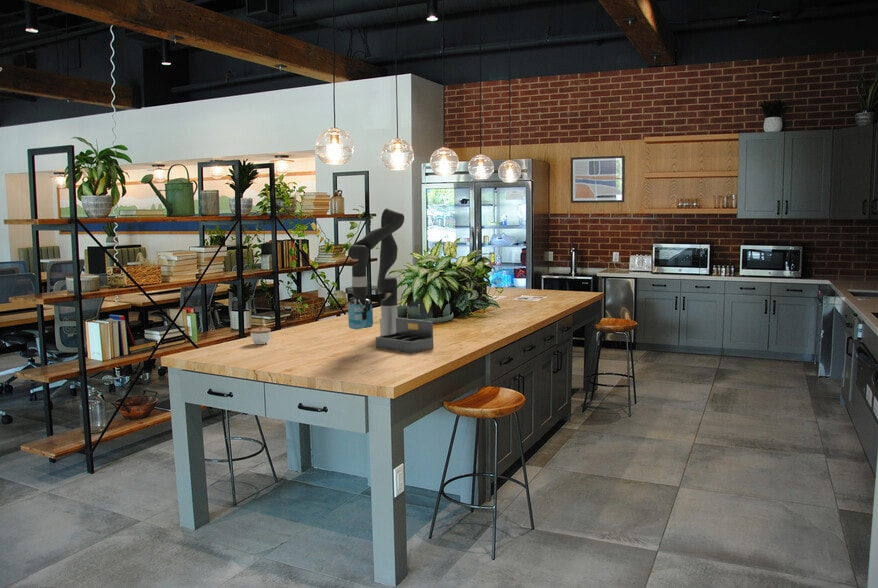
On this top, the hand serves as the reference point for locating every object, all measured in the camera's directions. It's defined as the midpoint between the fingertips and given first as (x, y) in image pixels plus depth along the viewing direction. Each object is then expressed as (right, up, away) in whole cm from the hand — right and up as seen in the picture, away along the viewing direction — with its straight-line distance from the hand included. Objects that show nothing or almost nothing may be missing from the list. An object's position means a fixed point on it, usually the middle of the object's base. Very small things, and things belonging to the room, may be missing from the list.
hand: (360, 318), depth 350 cm
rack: (+22, -15, +6) cm, 27 cm away
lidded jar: (-57, -15, +27) cm, 64 cm away
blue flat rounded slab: (0, -5, +1) cm, 5 cm away
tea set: (+28, -4, +101) cm, 105 cm away
